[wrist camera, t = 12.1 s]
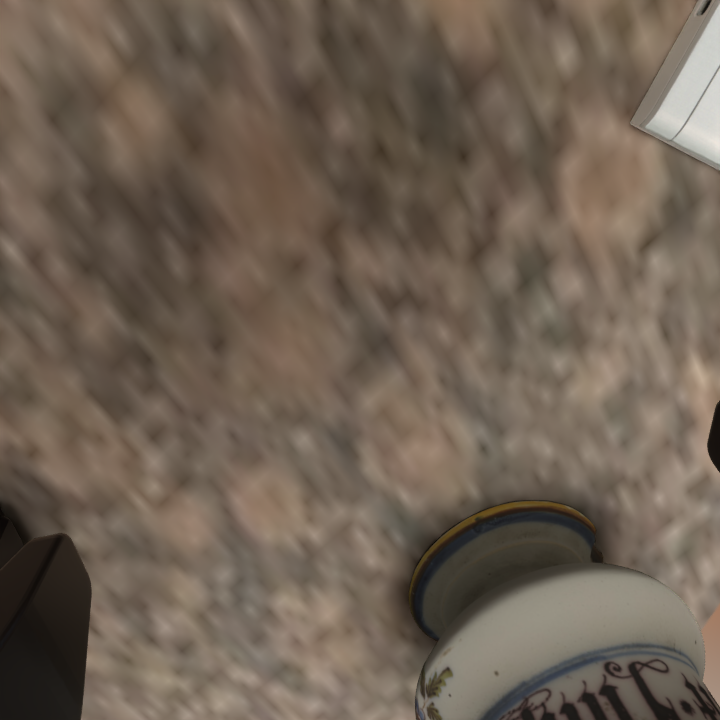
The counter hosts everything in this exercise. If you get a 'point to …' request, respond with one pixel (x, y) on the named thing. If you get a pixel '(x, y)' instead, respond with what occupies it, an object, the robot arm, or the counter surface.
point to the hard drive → (688, 89)
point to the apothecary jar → (550, 626)
